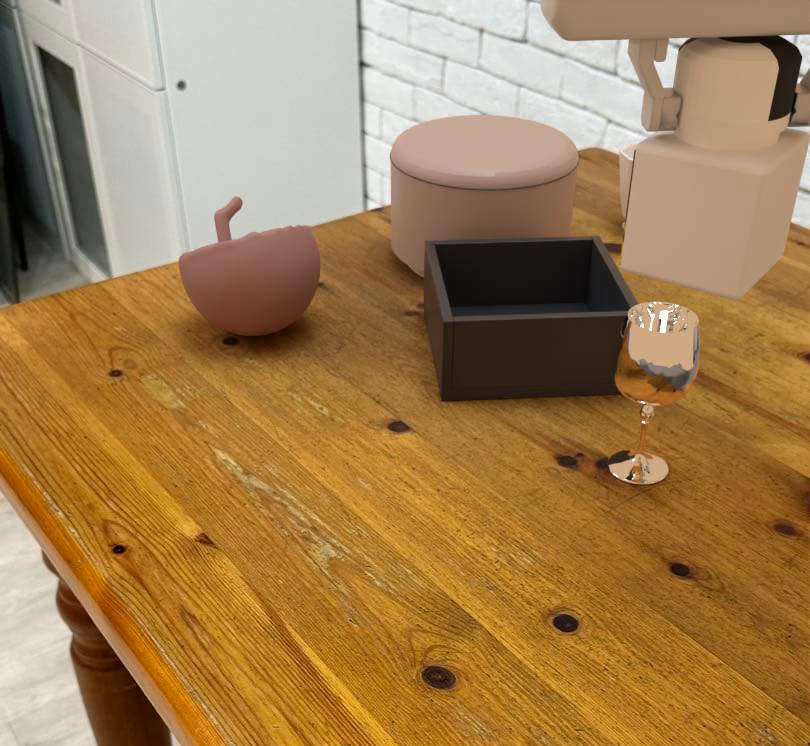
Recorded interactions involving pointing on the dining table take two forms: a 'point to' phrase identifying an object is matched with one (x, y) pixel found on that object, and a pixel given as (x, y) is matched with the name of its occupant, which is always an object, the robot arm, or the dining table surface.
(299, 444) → the dining table surface
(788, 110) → the medicine bottle
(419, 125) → the container
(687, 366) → the wineglass
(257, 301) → the coconut drink
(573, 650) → the dining table surface
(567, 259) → the black bin
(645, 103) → the robot arm
